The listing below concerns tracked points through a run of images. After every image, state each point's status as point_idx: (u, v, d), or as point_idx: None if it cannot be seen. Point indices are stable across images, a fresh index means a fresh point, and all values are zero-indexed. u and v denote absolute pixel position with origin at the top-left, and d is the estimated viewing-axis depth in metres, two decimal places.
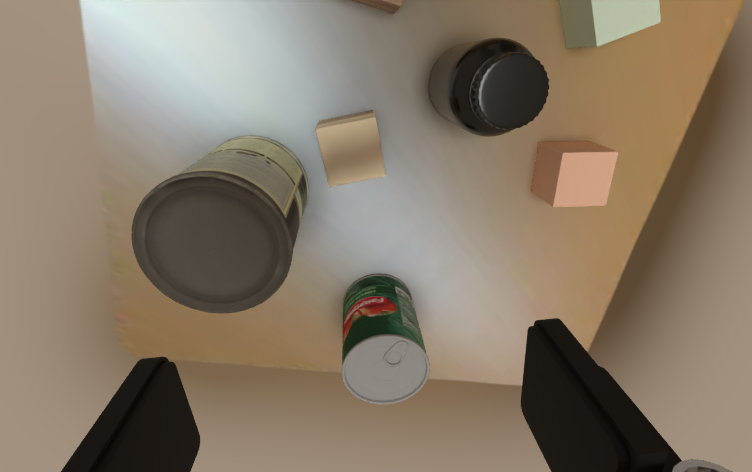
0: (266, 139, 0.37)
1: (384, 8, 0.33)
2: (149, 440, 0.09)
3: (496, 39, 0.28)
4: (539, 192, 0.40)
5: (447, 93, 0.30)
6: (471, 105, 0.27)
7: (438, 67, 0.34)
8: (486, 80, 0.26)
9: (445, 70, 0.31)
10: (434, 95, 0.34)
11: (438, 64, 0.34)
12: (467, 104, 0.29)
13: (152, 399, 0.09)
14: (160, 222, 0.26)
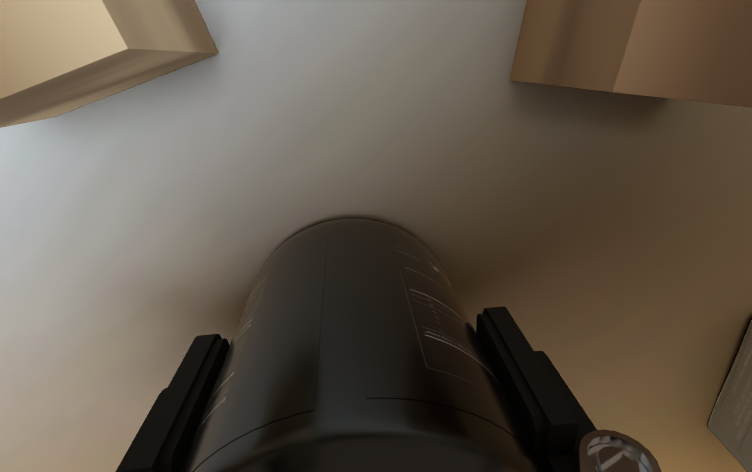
0: None
1: (532, 42, 0.10)
2: None
3: None
4: None
5: (306, 416, 0.06)
6: None
7: (390, 253, 0.10)
8: None
9: (398, 322, 0.08)
10: (304, 263, 0.10)
11: (396, 245, 0.11)
12: None
13: (213, 371, 0.10)
14: None
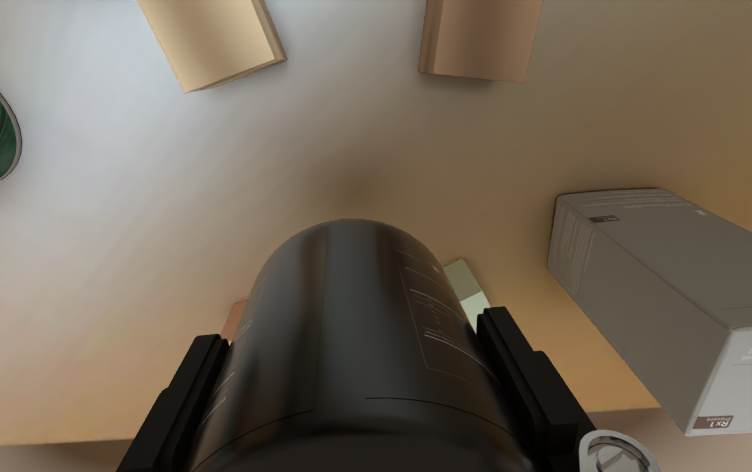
0: None
1: (422, 54, 0.24)
2: None
3: None
4: (233, 315, 0.30)
5: (306, 416, 0.06)
6: None
7: (390, 253, 0.10)
8: None
9: (398, 323, 0.08)
10: (304, 263, 0.10)
11: (396, 245, 0.11)
12: None
13: (213, 371, 0.10)
14: None
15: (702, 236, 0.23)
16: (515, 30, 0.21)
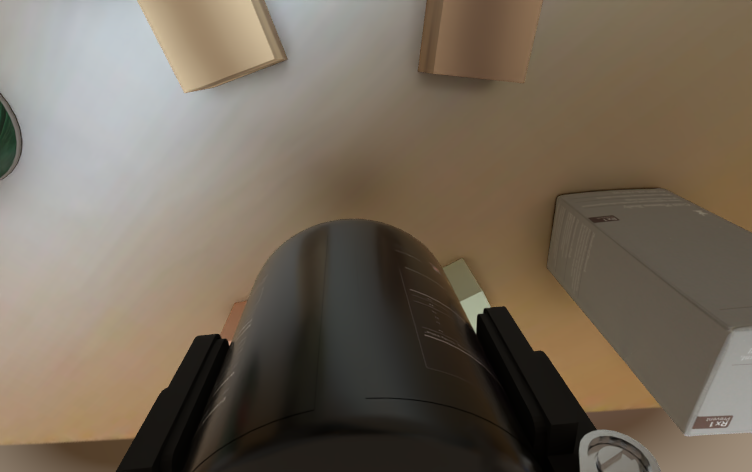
0: None
1: (422, 54, 0.24)
2: None
3: None
4: (233, 315, 0.30)
5: (306, 416, 0.06)
6: None
7: (390, 253, 0.10)
8: None
9: (398, 323, 0.08)
10: (304, 263, 0.10)
11: (396, 245, 0.11)
12: None
13: (213, 371, 0.10)
14: None
15: (702, 236, 0.23)
16: (515, 30, 0.21)
